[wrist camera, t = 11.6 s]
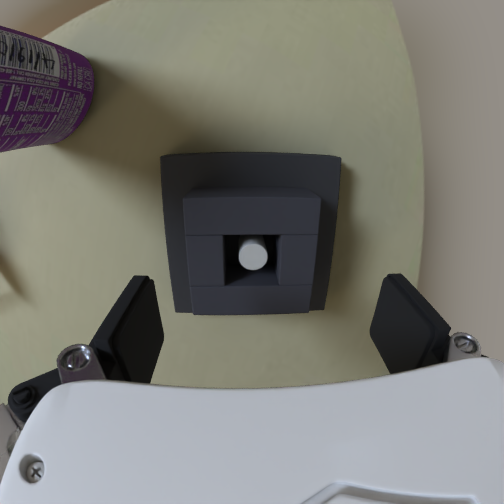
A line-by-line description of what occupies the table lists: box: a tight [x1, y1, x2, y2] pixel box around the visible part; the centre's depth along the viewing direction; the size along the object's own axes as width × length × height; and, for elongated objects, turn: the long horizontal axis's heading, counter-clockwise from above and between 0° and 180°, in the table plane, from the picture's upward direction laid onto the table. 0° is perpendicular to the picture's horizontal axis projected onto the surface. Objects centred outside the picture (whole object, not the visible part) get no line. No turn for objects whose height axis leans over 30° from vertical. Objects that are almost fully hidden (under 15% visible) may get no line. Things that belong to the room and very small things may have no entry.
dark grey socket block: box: [183, 187, 321, 315], centre depth 16 cm, size 7×7×3 cm
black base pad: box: [160, 152, 341, 313], centre depth 17 cm, size 11×11×4 cm
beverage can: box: [0, 26, 94, 152], centre depth 9 cm, size 7×7×12 cm
